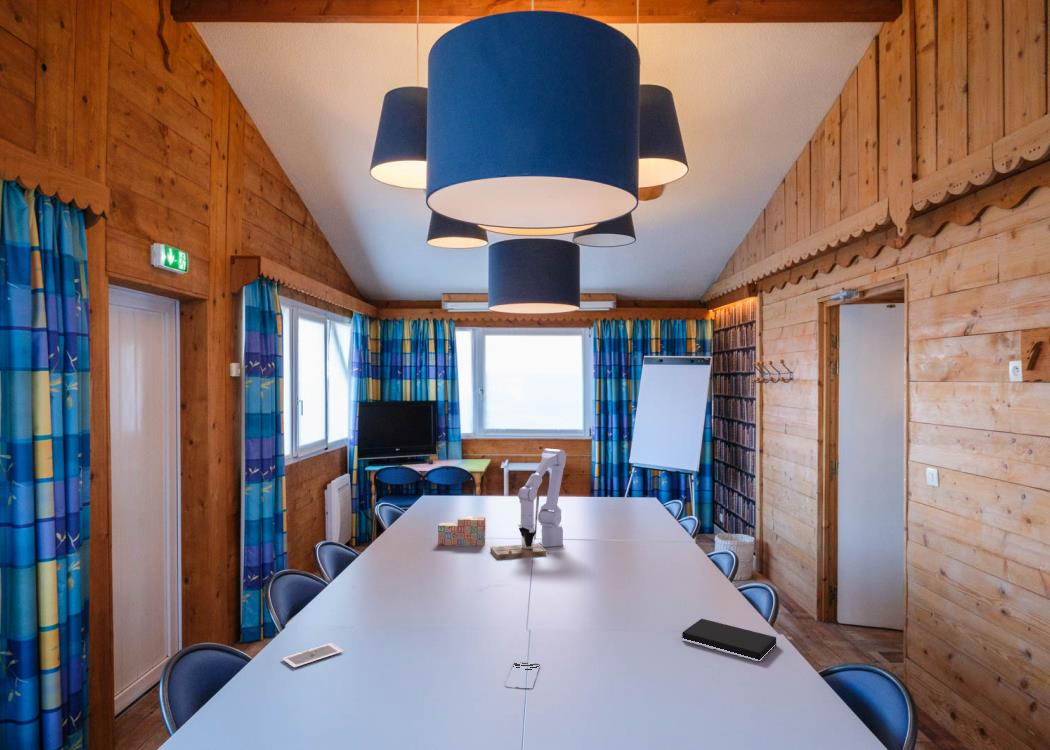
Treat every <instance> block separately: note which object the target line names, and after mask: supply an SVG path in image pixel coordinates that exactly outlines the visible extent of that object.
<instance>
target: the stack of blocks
mask: <svg viewBox="0 0 1050 750" xmlns="http://www.w3.org/2000/svg"><path fill="white" fill-rule="evenodd" d="M485 544H486V516H485V517H483V516H482V517H481V516H458V519H457V522H440V523H438V524H437V545H438V546H452V545H472V546H471V547H484V546H485Z"/></svg>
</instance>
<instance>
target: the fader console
mask: <svg viewBox="0 0 1050 750" xmlns="http://www.w3.org/2000/svg"><path fill="white" fill-rule="evenodd" d="M489 548H490V549H489V550H490V551H491V552H490V551H489V552H490V553H491V554H492V555H493V557H494V558H495V557H496V558H497V559H496V558H495V559H496V560H506V559H505V558H508V559H515V558H514V557H520V558H527V557H526V556H533V557H542V556H544V555H545V556H547V551H546V549H545V548H544V547H543V546H542V545H541V544H540V543H533V549H523V548H522V544H514V545H503V546H501V545H500V546H490V547H489Z"/></svg>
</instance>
